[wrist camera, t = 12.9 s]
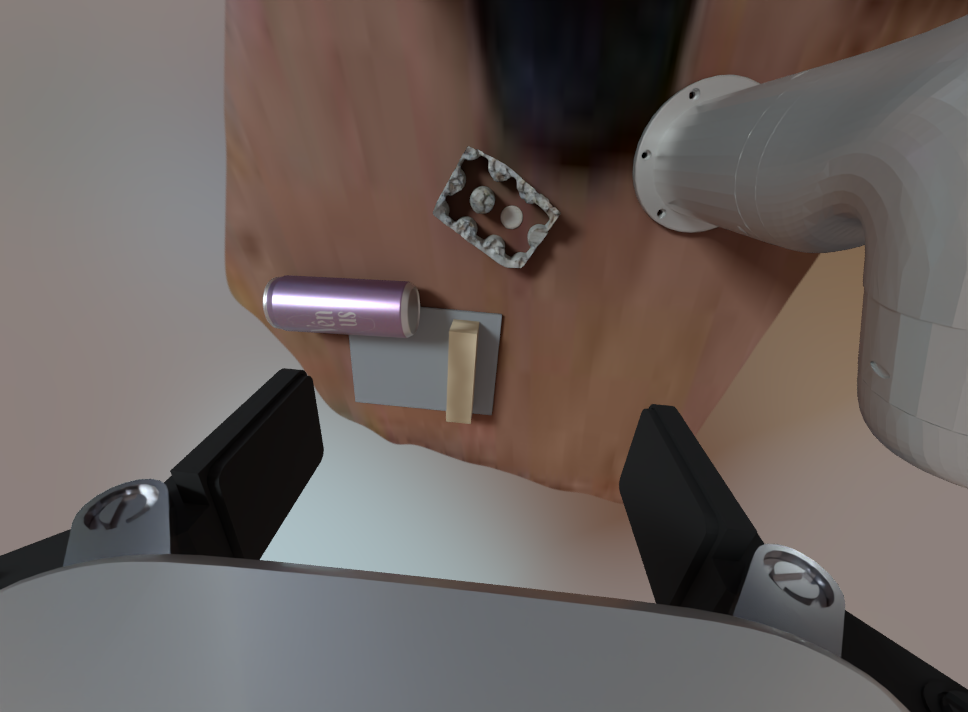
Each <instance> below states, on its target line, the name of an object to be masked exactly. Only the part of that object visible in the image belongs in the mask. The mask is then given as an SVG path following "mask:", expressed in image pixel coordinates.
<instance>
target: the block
mask: <svg viewBox="0 0 968 712" xmlns="http://www.w3.org/2000/svg"><path fill="white" fill-rule="evenodd" d="M478 334H479V321H468V320H457V319H453V322H452V325H451V328H450V330H449V349H448V378H447V407H446V421H447V422H457V423H467V424H471V418H472V411H473V401H474V388H475V374H476V361H477V347H478Z"/></svg>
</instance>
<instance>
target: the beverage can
mask: <svg viewBox="0 0 968 712" xmlns="http://www.w3.org/2000/svg"><path fill="white" fill-rule="evenodd" d="M263 309H264V313H265V316H266V318H267V320H268V322H269V323H270V324H271V325H272V326H273V327H275V328H278V329H283V330H286V331H298V332H314V333H331V334H347V335H364V336H380V337H397V338H408V337H410V336H412V335H414V334H415V333H416V331H417V328H418V324H419V318H420V297H419V292H418V289H417V287H416V286H415V285H413V284H412V283H410V282H406V281H386V280H366V279H347V278H327V277H307V276H283V277H275V278H273V279H271V280H270V281H269V282H268V284H267V285H266V288H265V290H264V295H263Z"/></svg>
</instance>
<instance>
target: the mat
mask: <svg viewBox="0 0 968 712" xmlns="http://www.w3.org/2000/svg"><path fill="white" fill-rule="evenodd" d="M453 319H457V320H468V321H479V334H478V347H477V361H476V374H475V388H474V401H473V411H472V413H474V414H484V415H492V407H493V397H494V387H495V378H496V368H497V358H498V349H499V339H500V329H501V319H502V314H495V313H484V312H473V311H462V310H451V309H441V308H430V307H420V318H419V324H418V328H417V331H416V333H415V334H414V335H412V336H410V337H408V338H397V337H380V336H364V335H349V341H350V351H351V361H352V371H353V381H354V391H355V401H356V402H362V403H372V404H383V405H393V406H403V407H413V408H423V409H433V410H444V411H446V407H447V378H448V349H449V330H450V328H451V325H452V322H453Z"/></svg>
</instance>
